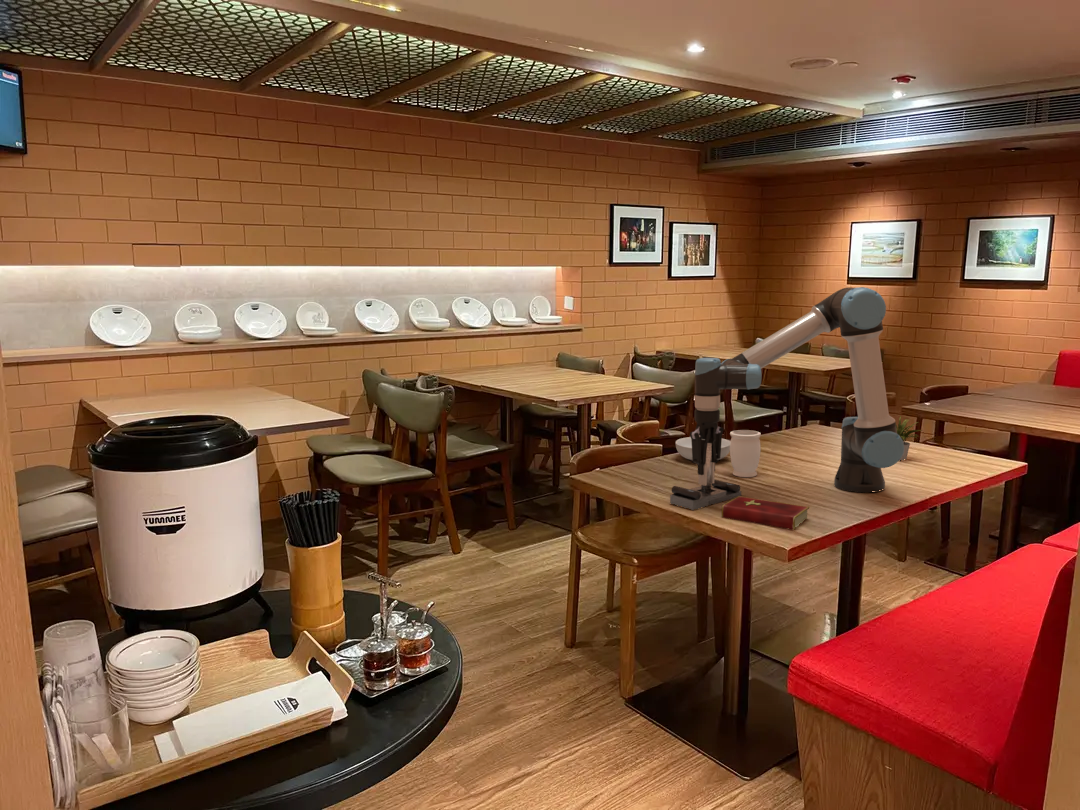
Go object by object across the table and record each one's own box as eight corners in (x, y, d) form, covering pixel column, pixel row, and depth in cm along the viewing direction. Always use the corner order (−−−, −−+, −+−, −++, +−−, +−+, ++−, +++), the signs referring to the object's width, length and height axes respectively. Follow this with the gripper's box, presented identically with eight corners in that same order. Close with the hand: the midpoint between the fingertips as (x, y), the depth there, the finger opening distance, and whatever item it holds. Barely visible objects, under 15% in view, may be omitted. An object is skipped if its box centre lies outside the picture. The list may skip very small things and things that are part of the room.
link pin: (713, 493, 237) (713, 442, 234) (706, 494, 235) (707, 443, 232) (705, 491, 239) (705, 441, 236) (699, 492, 237) (699, 442, 235)
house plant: (889, 465, 274) (891, 420, 272) (867, 456, 288) (869, 414, 285) (925, 463, 276) (928, 418, 273) (903, 454, 289) (905, 412, 287)
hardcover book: (794, 531, 207) (794, 516, 206) (721, 518, 220) (721, 504, 219) (808, 520, 216) (809, 505, 216) (738, 508, 229) (738, 495, 228)
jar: (761, 478, 260) (762, 435, 258) (730, 478, 262) (730, 435, 260) (758, 471, 270) (759, 429, 268) (728, 470, 273) (729, 429, 270)
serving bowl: (664, 459, 292) (664, 442, 291) (698, 451, 305) (698, 434, 304) (708, 468, 276) (708, 450, 275) (742, 459, 289) (742, 441, 288)
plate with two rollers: (741, 495, 240) (742, 479, 240) (693, 510, 226) (693, 493, 226) (717, 490, 248) (718, 473, 247) (669, 504, 234) (669, 486, 233)
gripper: (714, 404, 240) (713, 476, 244) (680, 410, 231) (679, 485, 234) (733, 407, 235) (732, 481, 238) (699, 413, 225) (698, 490, 228)
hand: (706, 483), depth 236 cm, fingers closed on link pin, 3 cm apart
